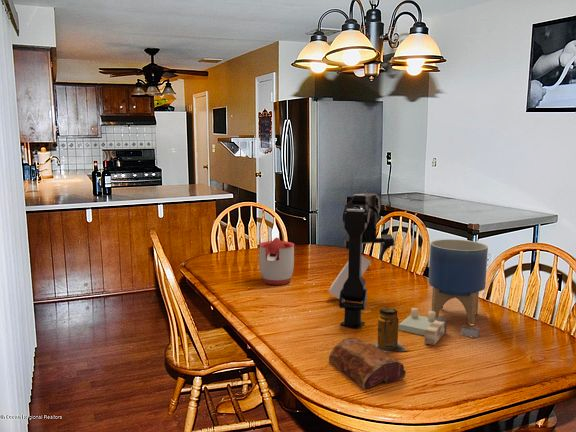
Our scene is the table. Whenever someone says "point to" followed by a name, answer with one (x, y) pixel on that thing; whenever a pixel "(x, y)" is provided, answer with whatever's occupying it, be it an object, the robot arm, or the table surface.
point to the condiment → (388, 331)
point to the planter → (457, 273)
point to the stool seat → (417, 322)
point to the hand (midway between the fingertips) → (368, 260)
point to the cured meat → (365, 363)
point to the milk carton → (346, 277)
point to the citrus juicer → (276, 261)
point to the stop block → (470, 331)
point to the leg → (435, 330)
